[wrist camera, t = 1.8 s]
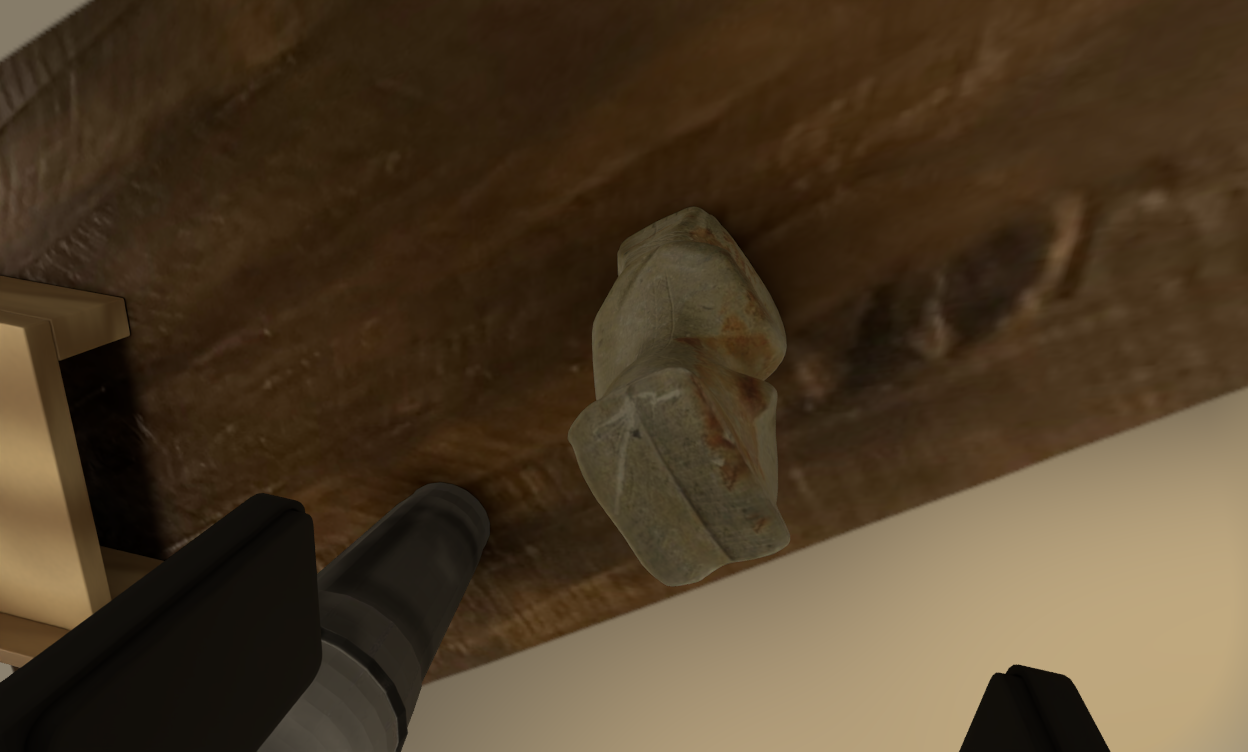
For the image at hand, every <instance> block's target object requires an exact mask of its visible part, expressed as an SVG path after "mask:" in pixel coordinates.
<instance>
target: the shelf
mask: <svg viewBox="0 0 1248 752" xmlns="http://www.w3.org/2000/svg"><path fill="white" fill-rule="evenodd" d="M128 336H130V331H129V325H128V319H127V314H126V308H125V302H124V299H123V298H119V297H114V296H108V295H103V294H98V293H92V292H87V291H81V290H76V289H70V288H65V287H59V286H54V285H48V284H43V283H38V282H32V281H27V280H21V279H16V278H10V277H5V276H0V662H2V663H6V664H9V665H13V666H16V667H20V668H21V667H22V666H23V665H25V664H26V663H28V662H29V661H30V660H32V659H33V658H34V657H36V656H37V655H38V654H40V653H41V652H42V651H44V650H45V649H46V648H48V647H49V646H50V645H52V644H53V643H55V642H56V641H57V640H59V639H60V638H61V637H63V636H64V635H65V634H67V633H68V632H69V631H71V630H72V629H73V628H75V627H76V626H78V625H79V624H80V623H82V622H83V621H84V620H86V619H87V618H88V617H90V616H91V615H92V614H94V613H95V612H96V611H98V610H99V609H100V608H102V607H103V606H105V605H106V604H107V603H109V602H110V601H111V600H113V599H114V598H115V597H117V596H118V595H119V594H121V593H122V592H123V591H125V590H126V589H128V588H129V587H130V586H132V585H133V584H134V583H136V582H137V581H138V580H140V579H141V578H142V577H144V576H145V575H146V574H148V573H149V572H150V571H152V570H153V569H155V568H156V567H157V566H159V565H160V564H161V563H163V562H164V561H162V560H158V559H153V558H149V557H145V556H141V555H137V554H132V553H128V552H124V551H120V550H116V549H111V548H107V547H103V546H100V545H99V541H98V536H97V532H96V527H95V523H94V518H93V514H92V510H91V505H90V501H89V496H88V492H87V487H86V483H85V478H84V474H83V469H82V465H81V460H80V456H79V451H78V447H77V442H76V438H75V433H74V429H73V425H72V420H71V416H70V411H69V407H68V402H67V398H66V393H65V389H64V384H63V380H62V375H61V371H60V366H59V362H58V361H60V360H63V359H66V358H69V357H72V356H74V355H77V354H80V353H83V352H86V351H88V350H91V349H94V348H97V347H100V346H102V345H105V344H108V343H111V342H114V341H116V340H119V339H122V338H125V337H128Z"/></svg>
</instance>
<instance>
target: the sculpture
mask: <svg viewBox="0 0 1248 752" xmlns="http://www.w3.org/2000/svg"><path fill="white" fill-rule="evenodd" d="M617 256H618V278H617V280H616V282H615V283H614V285H613V287H612V289H611V290H610V292H609V294H608V296H607V297H606V299H605V301H604V303H603V305H602V306H601V308H600V310H599V312H598V313H597V315H596V318H595V320H594V323H593V330H592V349H593V368H594V382H595V392H596V400H597V401H595V402H593V403H591V404H590V405H589V406H588V407H587V408H585V409H584V410H583V411H582V412H581V413H580V415H579V416H578V417H577V419H576V420H575V421H574V423H573V424H572V426H571V428H570V430H569V433H568V440H569V442H570V443H571V445H572V446H573V449H574V452H575V455H576V458H577V461H578V464H579V467H580V469H581V472H582V474H583V477H584V478H585V480H586V482H587V484H588V486H589V487H590V489H591V491H592V493H593V494H594V496H595V498H596V499H597V501H598V502H599V504H600V505H601V506H602V508H603V509H604V510H605V512H606V513H607V514H608V516H609V517H610V518H611V520H612V521H613V522H614V524H615V525H616V526H617V528H618V529H619V531H620V532H621V533H622V535H623V536H624V538H625V539H626V541H627V542H628V544H629V545H630V547H631V548H632V550H633V552H634V553H635V555H636V556H637V558H638V559H639V561H640V562H641V564H642V565H643V566H644V567H645V568H646V569H647V570H648V571H649V572H650V573H651V574H652V575H653V576H654V577H655V578H657V579H658V580H659V581H660V582H662V583H663V584H665V585H667V586H679V585H685V584H690V583H695V582H698V581H700V580H702V579H703V578H704V577H706V576H707V575H709V574H710V573H712V572H713V571H714V570H716V569H718V568H719V567H721V566H723V565H726V564H729V563H732V562H739V561H745V560H752V559H756V558H760V557H764V556H768V555H772V554H774V553H776V552H778V551H779V550H781V549H783V548H784V547H785V546H787V545H788V543H789V542H790V534H789V531H788V529H787V527H786V525H785V522H784V520H783V518H782V516H781V514H780V512H779V510H778V508H777V505H776V501H777V491H778V459H777V445H776V405H777V391H776V389H775V388H774V387H773V386H772V385H771V384H769V383H768V382H765V381H764V380H765V379H767V378H768V377H769V376H770V375H771V374H772V373H773V372H774V371H775V370H776V369H777V368H778V366H779V365H780V363H781V362H782V360H783V358H784V356H785V353H786V348H787V345H786V334H785V329H784V326H783V323H782V320H781V317H780V314H779V312H778V310H777V308H776V305H775V303H774V301H773V299H772V297H771V295H770V293H769V292H768V290H767V288H766V287H765V285H764V283H763V282H762V280H761V279H760V277H759V276H758V274H757V273H756V271H755V270H754V268H753V267H752V265H751V264H750V262H749V261H748V259H747V258H746V256H745V255H744V253H743V252H742V251H741V249H740V248H739V246H738V245H737V244H736V242H735V241H734V239H733V238H732V237H731V236H730V234H729V233H728V232H727V230H726V229H725V228H723V227H722V225H721V224H720V223H719V222H718V220H717V219H716V218H715V217H714V216H713V215H709V214H708V213H707V212H705V211H704V210H702V209H701V208H698V207H689V208H686V209H684V210H681V211H679V212H677V213H674V214H672V215H670V216H667V217H665V218H663V219H661V220H659V221H657V222H655V223H653V224H651V225H650V226H648V227H646V228H644V229H642V230H641V231H639V232H637V233H635V234H634V235H632V236H630V237H628V238H627V239H626V240H625V241H624V242H622V244H621V246H620V249H619V251H618V253H617Z"/></svg>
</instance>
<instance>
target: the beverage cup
mask: <svg viewBox="0 0 1248 752" xmlns="http://www.w3.org/2000/svg"><path fill="white" fill-rule="evenodd" d="M489 535H490V522H489V519H488V516H487V513H486V511H485V509H484V508H483V506H482V505H481V504H480V502H479V501H478V500H477V499H476V498H475V497H474V496H473V495H471V494H470V493H469V492H468V491H466V490H464V489H462V488H460V487H458V486H456V485H453V484H447V483H441V482H439V483H432V484H427V485H425V486H423V487H421V488H419V489H417V490H416V492H415V493H414V494H413V495H411V496H409V497H408V498H407V499H406V500H404V501H402V502H400V503H399V504H398V505H397V506H395V507H394V508H393V509H392V510H391V511H390V512H388V513H387V514H386V515H385V516H384V517H383V518H382V519H380V520H379V521H378V522H377V523H376V524H375V525H373V526H372V527H371V528H370V529H369V530H368V531H366V532H365V533H364V534H363V535H362V536H361V537H360V538H358V539H357V540H356V541H355V542H354V543H353V544H351V545H350V546H349V547H348V548H347V549H346V550H344V551H343V552H342V553H341V554H340V555H339V556H338V557H336V558H335V559H334V560H333V561H332V562H331V563H329V564H328V565H327V566H326V567H325V568H324V569H322V570H321V571H320V572H319V573H318V574H317V584H318V598H319V612H320V626H321V640H322V662H321V666H320V669H319V671H318V673H317V675H316V677H315V679H314V680H313V682H312V683H311V685H310V686H309V687H308V688H307V690H306V691H305V692H304V693H303V694H302V696H301V697H300V698H299V699H298V701H297V702H296V703H295V704H294V706H293V707H292V708H291V709H290V711H289V712H288V713H287V714H286V716H285V717H284V718H283V719H282V721H281V722H280V723H279V724H278V726H277V727H276V728H275V729H274V731H273V732H272V733H271V734H270V736H269V737H268V738H267V739H266V741H265V742H264V743H263V744H262V746H261V747H260V748H259V749H258V751H257V752H401V750H402V747H403V744H404V741H405V739H406V736H407V734H408V731H407V727H408V724H409V722H410V719H411V716H412V714H413V711H414V708H415V705H416V702H417V699H418V696H419V693H420V690H421V687H422V681H423V679H424V677H425V675H426V673H427V671H428V669H429V667H430V665H431V662H432V660H433V658H434V656H435V654H436V652H437V650H438V648H439V646H440V643H441V641H442V639H443V637H444V635H445V633H446V631H447V629H448V627H449V624H450V622H451V620H452V618H453V616H454V614H455V612H456V610H457V608H458V605H459V603H460V601H461V599H462V597H463V595H464V593H465V591H466V589H467V586H468V584H469V582H470V580H471V578H472V576H473V574H474V572H475V570H476V567H477V565H478V563H479V560H480V558H481V555H482V551H483V548H484V547H485V545H486V543H487V540H488V538H489Z"/></svg>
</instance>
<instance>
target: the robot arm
mask: <svg viewBox="0 0 1248 752" xmlns="http://www.w3.org/2000/svg"><path fill="white" fill-rule="evenodd" d="M321 662H322V640H321V626H320V612H319V598H318V584H317V570H316V556H315V542H314V528H313V520H312V518H311V516H310V515H308V514H306V513H305V509H304V506H303V505H302V504H301V503H300V502H298V501H296V500H291V499H287V498H282V497H278V496H274V495H269V494H265V493H260V494H256V495H254V496H252V497H250V498H249V499H248V500H246V501H245V502H244V503H242V504H241V505H240V506H238V507H237V508H236V509H234V510H233V511H232V512H230V513H229V514H227V515H226V516H225V517H223V518H222V519H221V520H219V521H218V522H217V523H215V524H214V525H213V526H211V527H210V528H209V529H207V530H206V531H205V532H203V533H202V534H200V535H199V536H198V537H196V538H195V539H194V540H192V541H191V542H190V543H188V544H187V545H186V546H184V547H183V548H182V549H180V550H179V551H178V552H176V553H175V554H173V555H172V556H171V557H169V558H168V559H167V560H165V561H164V562H163V563H161V564H160V565H159V566H157V567H156V568H155V569H153V570H152V571H150V572H149V573H148V574H146V575H145V576H144V577H142V578H141V579H140V580H138V581H137V582H136V583H134V584H133V585H132V586H130V587H129V588H128V589H126V590H125V591H123V592H122V593H121V594H119V595H118V596H117V597H115V598H114V599H113V600H111V601H110V602H109V603H107V604H106V605H105V606H103V607H102V608H100V609H99V610H98V611H96V612H95V613H94V614H92V615H91V616H90V617H88V618H87V619H86V620H84V621H83V622H82V623H80V624H79V625H78V626H76V627H75V628H73V629H72V630H71V631H69V632H68V633H67V634H65V635H64V636H63V637H61V638H60V639H59V640H57V641H56V642H55V643H53V644H52V645H50V646H49V647H48V648H46V649H45V650H44V651H42V652H41V653H40V654H38V655H37V656H36V657H34V658H33V659H32V660H30V661H29V662H28V663H26V664H25V665H23V666H22V667H21V668H19V669H18V670H17V671H15V672H14V673H13V674H11V675H10V676H9V677H8V678H6V679H5V680H3V681H2V682H0V752H257V751H258V749H259V748H260V747H261V746H262V744H263V743H264V742H265V741H266V739H267V738H268V737H269V736H270V734H271V733H272V732H273V731H274V729H275V728H276V727H277V726H278V724H279V723H280V722H281V721H282V719H283V718H284V717H285V716H286V714H287V713H288V712H289V711H290V709H291V708H292V707H293V706H294V704H295V703H296V702H297V701H298V699H299V698H300V697H301V696H302V694H303V693H304V692H305V691H306V690H307V688H308V687H309V686H310V685H311V683H312V682H313V680H314V679H315V677H316V675H317V673H318V671H319V669H320V666H321ZM959 752H1110V750H1109V748H1108V746H1107V745H1106V743H1105V741H1104V739H1103V737H1102V735H1101V733H1100V731H1099V730H1098V728H1097V726H1096V724H1095V722H1094V720H1093V718H1092V716H1091V715H1090V713H1089V711H1088V709H1087V707H1086V705H1085V703H1084V701H1083V700H1082V698H1081V696H1080V694H1079V692H1078V690H1077V689H1076V687H1075V685H1074V684H1073V682H1072V681H1071V679H1069V678H1068V677H1066V676H1065V675H1062V674H1057V673H1053V672H1049V671H1044V670H1040V669H1035V668H1031V667H1026V666H1022V665H1013V666H1011V667H1010V668H1009V669H1008V671H1007V672H1006V674H1002V673H995V674H994V675H993V676H992V678H991V679H990V681H989V684H988V686H987V688H986V691H985V693H984V695H983V698H982V700H981V702H980V705H979V707H978V709H977V711H976V714H975V716H974V718H973V721H972V723H971V726H970V728H969V730H968V732H967V735H966V737H965V739H964V742H963V744H962V746H961V749H960V751H959Z"/></svg>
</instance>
